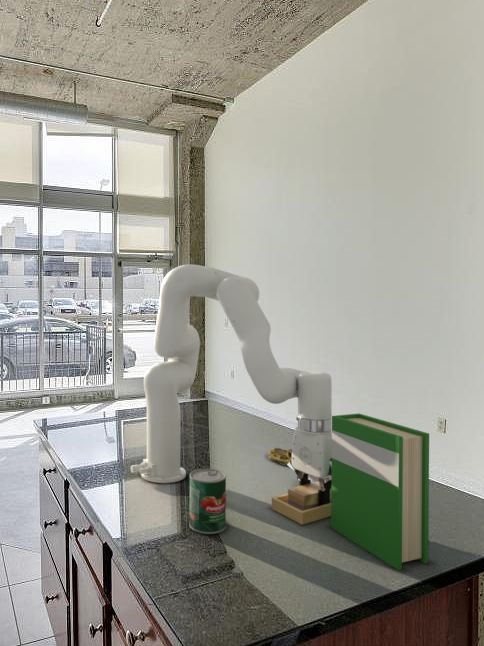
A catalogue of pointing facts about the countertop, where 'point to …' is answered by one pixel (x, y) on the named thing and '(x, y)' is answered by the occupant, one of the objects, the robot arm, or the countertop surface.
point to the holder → (297, 515)
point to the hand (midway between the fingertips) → (314, 501)
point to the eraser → (304, 496)
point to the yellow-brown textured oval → (280, 455)
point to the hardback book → (381, 487)
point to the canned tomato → (207, 501)
